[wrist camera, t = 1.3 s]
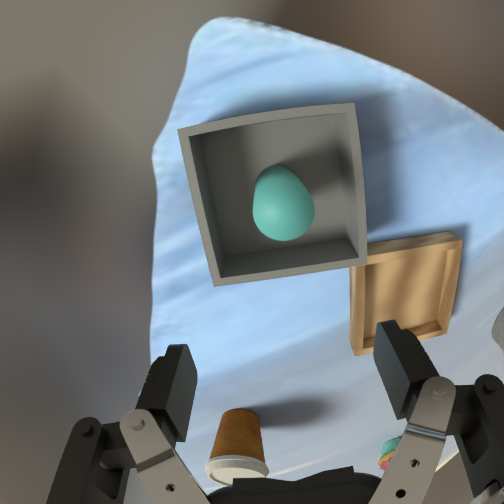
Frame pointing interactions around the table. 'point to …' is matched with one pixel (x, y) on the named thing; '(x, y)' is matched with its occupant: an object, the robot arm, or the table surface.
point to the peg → (282, 204)
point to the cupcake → (388, 453)
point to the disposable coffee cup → (237, 449)
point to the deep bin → (243, 187)
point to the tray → (404, 287)
